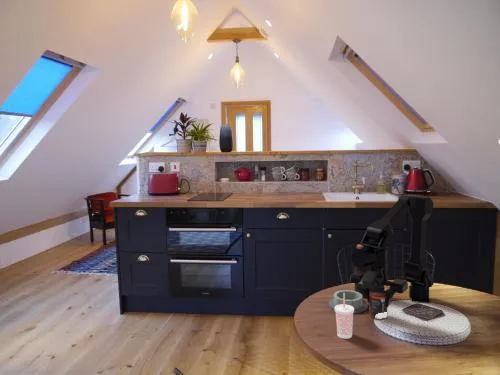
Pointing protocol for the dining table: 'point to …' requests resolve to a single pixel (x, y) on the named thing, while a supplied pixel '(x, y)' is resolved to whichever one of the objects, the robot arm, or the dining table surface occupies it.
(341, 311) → the beverage cup
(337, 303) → the can holder
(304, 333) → the dining table surface
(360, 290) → the vinegar
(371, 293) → the supplement bottle
